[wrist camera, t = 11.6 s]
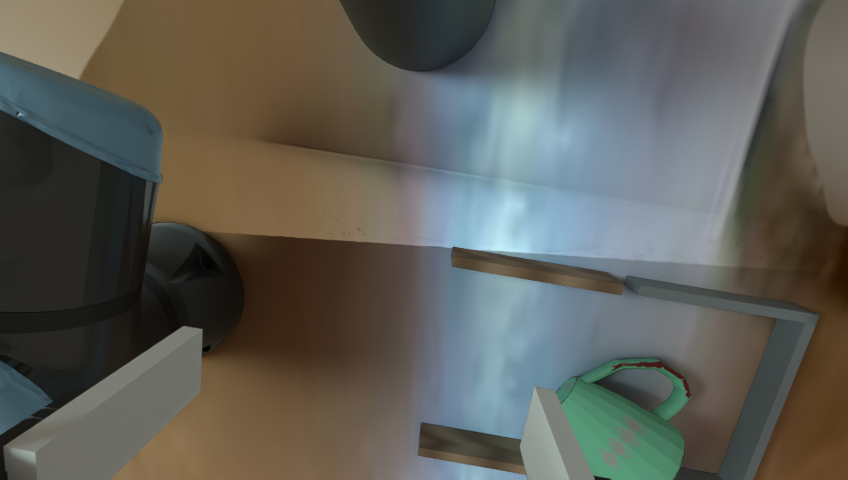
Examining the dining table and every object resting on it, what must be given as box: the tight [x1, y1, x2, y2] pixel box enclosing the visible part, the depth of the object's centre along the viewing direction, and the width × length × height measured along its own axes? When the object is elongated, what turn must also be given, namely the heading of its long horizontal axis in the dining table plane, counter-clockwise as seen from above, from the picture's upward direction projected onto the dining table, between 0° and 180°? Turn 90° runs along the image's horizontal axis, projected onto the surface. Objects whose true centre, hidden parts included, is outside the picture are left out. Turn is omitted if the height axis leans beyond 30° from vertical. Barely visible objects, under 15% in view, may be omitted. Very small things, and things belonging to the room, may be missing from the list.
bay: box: [418, 247, 624, 475], centre depth 42 cm, size 16×22×4 cm
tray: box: [624, 276, 820, 480], centre depth 42 cm, size 17×22×3 cm
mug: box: [556, 358, 692, 480], centre depth 41 cm, size 15×10×10 cm
